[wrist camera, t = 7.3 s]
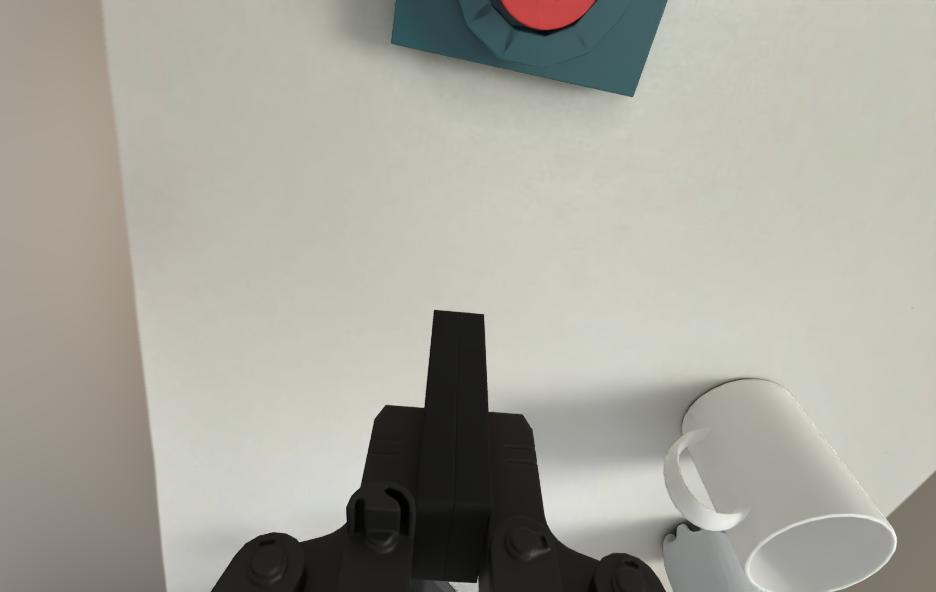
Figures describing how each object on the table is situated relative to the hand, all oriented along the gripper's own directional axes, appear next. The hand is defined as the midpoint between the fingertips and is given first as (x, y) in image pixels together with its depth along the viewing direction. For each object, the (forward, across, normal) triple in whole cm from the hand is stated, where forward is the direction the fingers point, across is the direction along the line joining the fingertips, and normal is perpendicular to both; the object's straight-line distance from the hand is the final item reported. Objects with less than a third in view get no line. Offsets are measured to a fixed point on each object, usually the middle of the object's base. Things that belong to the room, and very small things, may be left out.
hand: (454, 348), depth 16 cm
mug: (+15, +19, -15) cm, 28 cm away
